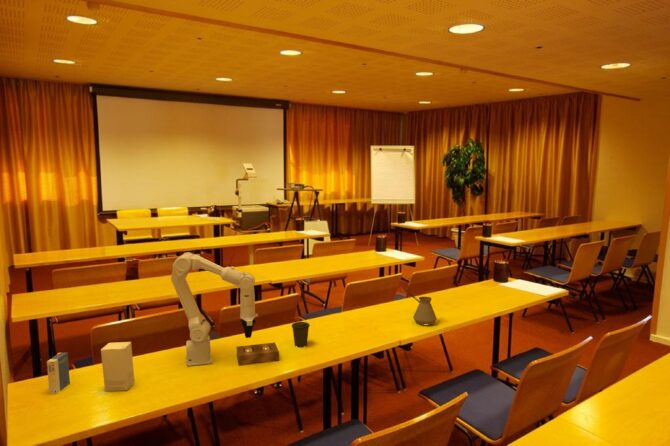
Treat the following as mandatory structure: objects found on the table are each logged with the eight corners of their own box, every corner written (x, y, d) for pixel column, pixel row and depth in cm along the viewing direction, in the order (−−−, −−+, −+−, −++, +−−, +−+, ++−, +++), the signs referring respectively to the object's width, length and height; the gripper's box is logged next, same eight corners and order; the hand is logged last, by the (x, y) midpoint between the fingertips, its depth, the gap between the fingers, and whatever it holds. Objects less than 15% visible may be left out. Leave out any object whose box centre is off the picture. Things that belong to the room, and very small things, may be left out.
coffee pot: (441, 323, 227) (441, 294, 225) (425, 328, 220) (426, 298, 218) (410, 313, 244) (410, 286, 242) (394, 317, 237) (395, 289, 235)
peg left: (245, 360, 182) (245, 351, 182) (244, 358, 185) (244, 348, 185) (253, 360, 183) (252, 350, 183) (252, 357, 186) (252, 347, 186)
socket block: (238, 365, 178) (238, 356, 178) (236, 355, 188) (236, 346, 187) (279, 360, 183) (278, 351, 182) (275, 351, 192) (274, 342, 192)
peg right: (262, 358, 184) (262, 349, 184) (261, 356, 187) (261, 346, 187) (270, 358, 185) (270, 348, 185) (269, 355, 188) (269, 345, 188)
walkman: (62, 383, 164) (60, 351, 162) (70, 383, 164) (67, 351, 162) (48, 394, 156) (45, 360, 155) (56, 394, 156) (54, 360, 155)
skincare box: (135, 382, 164) (132, 341, 162) (127, 391, 158) (125, 348, 156) (111, 383, 164) (109, 341, 162) (102, 391, 157) (100, 348, 156)
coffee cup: (307, 349, 195) (307, 326, 194) (289, 347, 196) (288, 325, 195) (312, 342, 203) (311, 320, 201) (294, 340, 204) (294, 319, 203)
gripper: (259, 308, 176) (260, 342, 177) (255, 298, 190) (256, 330, 191) (241, 310, 174) (242, 344, 175) (238, 300, 188) (239, 331, 189)
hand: (248, 337), depth 183 cm, fingers closed
